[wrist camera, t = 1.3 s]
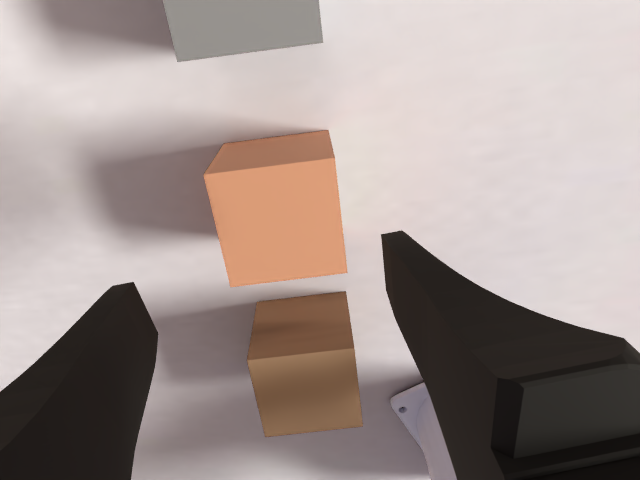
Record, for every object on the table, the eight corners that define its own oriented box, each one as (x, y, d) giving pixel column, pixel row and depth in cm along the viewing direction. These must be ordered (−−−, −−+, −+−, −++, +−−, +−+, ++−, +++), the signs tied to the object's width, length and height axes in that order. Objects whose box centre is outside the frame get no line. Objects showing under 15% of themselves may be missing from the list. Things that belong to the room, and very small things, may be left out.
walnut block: (353, 360, 28) (362, 426, 23) (271, 369, 28) (265, 437, 23) (345, 290, 26) (354, 348, 21) (257, 300, 26) (246, 360, 21)
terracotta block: (339, 225, 24) (347, 272, 19) (244, 237, 24) (230, 287, 19) (328, 129, 22) (334, 157, 17) (224, 143, 22) (203, 174, 17)
